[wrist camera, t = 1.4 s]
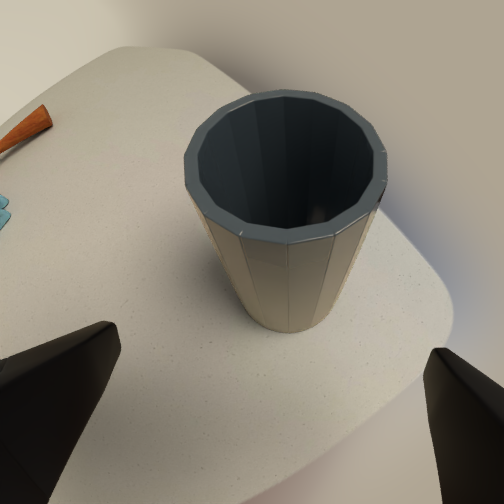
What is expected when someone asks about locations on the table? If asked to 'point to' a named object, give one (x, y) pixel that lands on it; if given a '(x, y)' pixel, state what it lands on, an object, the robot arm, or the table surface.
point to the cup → (286, 199)
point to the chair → (3, 211)
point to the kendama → (26, 128)
